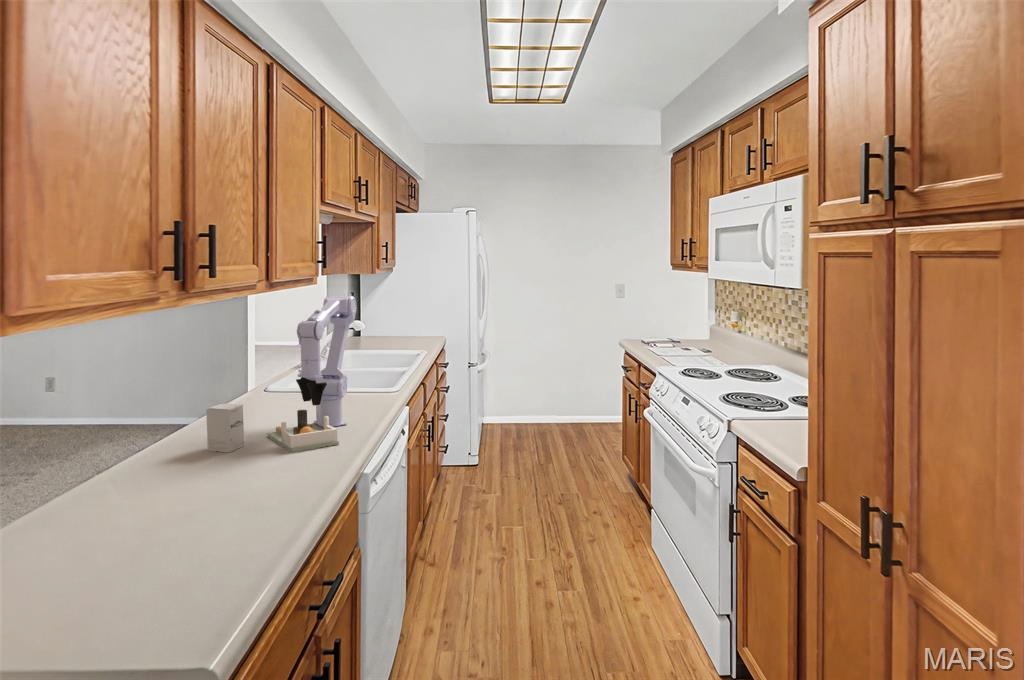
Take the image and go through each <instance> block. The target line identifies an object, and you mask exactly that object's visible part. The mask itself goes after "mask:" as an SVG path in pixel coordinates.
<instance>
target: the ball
mask: <svg viewBox="0 0 1024 680" xmlns="http://www.w3.org/2000/svg"><path fill="white" fill-rule="evenodd" d="M309 432H313V429H312V428H310V427H308V426H306V427H303V428H302V429H301V430H300V434H303V433H309Z"/></svg>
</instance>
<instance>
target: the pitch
mask: <svg viewBox="0 0 1024 680" xmlns="http://www.w3.org/2000/svg"><path fill="white" fill-rule="evenodd" d="M312 429H313V432H309V433H303V434H296V435H294V434H293V429H287V422H286V421H283V422H282V421H281V424H280V426H275V431H273V432H267V437H268V438H269V437H270V440H273V441H274V442H276V443H277V444H279V445H280V446H281V447H283V448H285V449H287V450H288V451H289V452H292V453H297V452H304V451H309V449H310V450H314V449H315V448H316V449H320V448H321V447H322V448H326V446H328V447H332V445H334V446H338V444H339V443H340V441H339V440H338V429H337V428H335V426H333V427H332V426H330V425H329V417H328V416H324V427H323V430H318V429H317V428H315V427H313V426H312ZM339 445H340V444H339Z"/></svg>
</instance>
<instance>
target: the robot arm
mask: <svg viewBox="0 0 1024 680" xmlns="http://www.w3.org/2000/svg"><path fill="white" fill-rule="evenodd" d="M323 299H324V300H323V305H322V308H321V309H316V310H315V311H314V312H313V313H312V314H311V315H310V316H309V317H308V318H307V319H306V320H301V321H300V322H299V323H298V324H297V328H296V335H297V338H298V345H299V346H300V369H301V370H300V371H299V373H298V374H297V377H298V378H296V379H295V381H296V383H297V385H298V387H299V390H300V393H301V397H302V400H303V402H310V401H311V403H312V406H315V415H316V416H315V417H316V418H315V420H314V421H313V423H314V424H316V425H318V426H320V427H321V428H324V416H328V417H329V425H330V426H332V427H338V426H345V425H346V426H347V425H348V422H345V421H343V403H342V402H343V401H342V399H343V398H344V397H345V396H346V394H347V391H348V377H347V375H346V374H345V373H344V372H343V371H342V366H343V360H344V356H345V355H344V354H345V350H346V344H347V338H348V334H349V330H350V329H349V327H350V325H352V324H353V323H355V319H356V314H357V299H356V298H355V297H354V295H350V296H349V295H347V296H345V295H344V296H343V295H342V296H340V295H326V296H325V297H324V298H323ZM329 324H332V325H333V330H332V335H331V339H330V346H329V349H328V355H327V359H326V364H325V368H323V369H321V339H322V338H323V336H324V335H323V334H324V332H325V329H326V327H327V326H328V325H329Z"/></svg>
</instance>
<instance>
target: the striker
mask: <svg viewBox="0 0 1024 680" xmlns="http://www.w3.org/2000/svg"><path fill="white" fill-rule="evenodd" d="M296 412H297V414H296V415H297V426H294V427H293V434H294V435H296V434H300V430H301V429H302V428H303V427H306V426H308V427H310V428H312V427H313V426H312V425H310V424H308V410H307V409H298V410H297V411H296Z"/></svg>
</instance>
